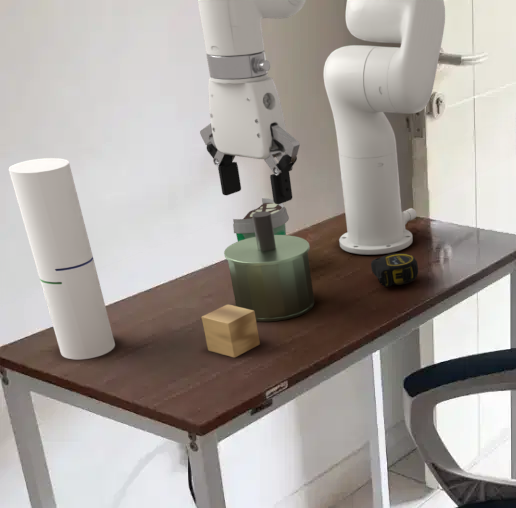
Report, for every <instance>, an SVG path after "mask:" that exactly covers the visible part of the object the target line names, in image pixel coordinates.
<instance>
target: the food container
mask: <svg viewBox="0 0 516 508" xmlns="http://www.w3.org/2000/svg"><path fill="white" fill-rule="evenodd" d="M261 203H262V204H261V205H260V206H259V207H257V208H255V209H252V210H250V211H248V212H247V214H246V215H245V216H244V217H243V218H233V219H232V220H233V223H232V228H233V234H235V235H236V240H237V242H238V241H241V240H244V239H248V238H252V237H256V235H255V229H254V223H253V216H252V215H253V214H254V213H257V212H270V213H271V218H272V224H273V231H274V235H287V230H286V228H287V227H286V223H287V222H288V221H289V220H290V216H289V214H288V210H287V208H286V207H285V205H284V203H281V204H275V203H274V201H273V198H267V197H262V198H261Z"/></svg>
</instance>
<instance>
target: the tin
mask: <svg viewBox="0 0 516 508" xmlns="http://www.w3.org/2000/svg"><path fill="white" fill-rule="evenodd" d="M227 263H228V269H229V274H230V280H231V286H232V290H233V298H234V302H235V306H237V307H241V308H245V309H249V310H254V312H255V318H256V322H266V323H267V322H279V321H280V322H281V321H285V320H291V319H294V318H298V317H300V316H303V315H305V314H306V313H308V312H310V311H311V310H312V309H313V308H314V306H315V297H314V289H313V281H312V280H313V279H312V274H311V267H310V266H311V265H310V260H309V252H308V253H306V254H305V255H304V256H302V257H300V258H298V259H296V260H293V261H290V262H286V263H281V264H276V265H268V266H245V265H238V264H234V263H231V262H229V261H228V260H227Z"/></svg>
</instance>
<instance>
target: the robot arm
mask: <svg viewBox="0 0 516 508" xmlns="http://www.w3.org/2000/svg"><path fill="white" fill-rule="evenodd" d="M306 1H307V0H197V6H198V11H199V18H200V23H201V24H200V25H201V29H202V30H201V31H202V36H203V42H204V47H205V53H206V54H205V55H206V59H207V67H208V73H209V78H208V109H209V118H210V123H209V124H208V125H206V126H205V127H203V128H202V129H200V130H199V134H200V137H201V138H202V140H203V142H204V144H205V146H206V151H207V152H208V154H209V155H210V157H212V158H213V160H212V161H213V164H214V165H215V167H217V169H218V170H217V171H218V175H219V181H220V188H221V193H222V195H223V196H229V195H234V194H236V193H238V192H241V191H242V184H241V178H240V171H239V166H238V162H237V161H234V159H235V158H236V157H242V158H249V159H254V160H255V159H256V160H264V162H265V163H266V165H267V166H268V168H269V169H270V171H271V172H272V174H270V175H269V180H270V186H271V194H272V199H273V201H274V203H275V204H281V203H283V204H284V203H286V202H290V201H292V200H293V191H292V184H291V176H290V172H291V171H293V169H294V168H293V166H294V165H295V163H296V162H297V160H298V156H297V155H298V154H299V150H300V141H299V140H298V139H296V138H295V137H294V136H293V135H291V134H290V133H289V132H288V131H287V127H286V122H285V121H286V120H285V115H284V111H283V107H282V103H281V98H280V95H279V92H278V88H277V86H276V83H275V80H274V77H270V76H269V73H268V71H270V70H271V69H270V68H271V63H270V61H269V60H267V58H266V57H267V56H266V51H265V49H266V48H265V43H264V42H265V41H264V34H263V27H262V20H263V19H275V20H276V19H277V20H279V19H288V18H290V17H293V16H295V15H296V14H298V13H299V12H300V11H301V9H303V7H304V6H305V3H306ZM345 25H346V28H347V30H348V31H349V33H350V34H351V35H352V36H354V37H355V38H357V39H358V40H360V41H365V42H370V43H371V42H372V43H380V44H381V43H382V44H400V47H396V46H395V47H393V46H381V45H359V44H358V45H357V44H352V45H345V46H341V47H339V48H336V49H335V50H333V51H331V53H330V54H329V55H328V56H327V58H326V59H325V62H324V65H323V82H324V89H325V92H326V95H327V98H328V99H327V100H328V102H329V105H330V109H331V112H332V118H333V121H334V122H333V123H334V127H335V133H336V141H337V151H338V159H339V160H338V161H339V167H340V168H339V170H340V178H341V188H342V196H343V205H344V206H343V207H344V214H345V223H346V231H347V232H345V233H343V234H342V235H341V236H340V237H339V239H338V241H339V242H338V243H339V247H340V248H341V249H342V250H343V251H345V252H346V253H349V254H350V253H351V254H354V255H363V256H364V255H365V256H376V255H378V256H379V255H388V254H393V253H396V252H400V251H402V250H405V249H406V248H408V247H410V246H411V245H412V244H413V233H412V232H411V231H410V230H408V229H406V225H407V224H408V223H409V222H411V221H413V220H415V219H416V218H417V215H418V214H417V211H416V210H415V209H414V208H412V207H410V208H408V209H405V210H404V211H403V210H402V203H401V199H402V198H401V188H400V176H399V165H398V164H399V163H398V151H397V150H398V149H397V140H396V134H395V131H394V129H393V126H392V125H391V122H390V121H389V119H388V117H387V116H386V114H385V113H391V114H392V113H393V114H409V115H410V114H416V113H420V112H421V111H423V110H424V109H425V108H426V107H427V106H428V104H429V102H430V100H431V96H432V94H433V90H434V84H435V80H436V74H437V69H438V64H439V59H440V55H441V49H442V43H443V38H444V31H445V25H446V7H445V0H346V6H345Z"/></svg>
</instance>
